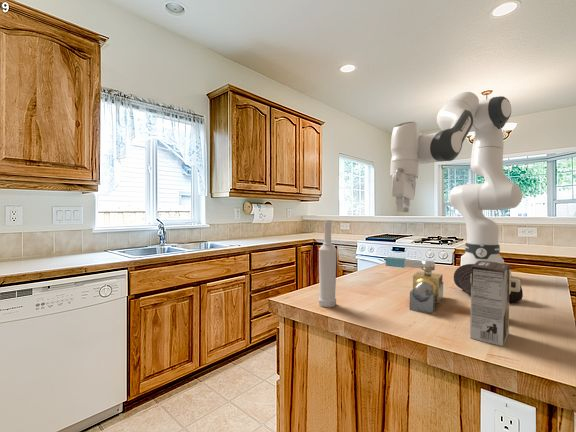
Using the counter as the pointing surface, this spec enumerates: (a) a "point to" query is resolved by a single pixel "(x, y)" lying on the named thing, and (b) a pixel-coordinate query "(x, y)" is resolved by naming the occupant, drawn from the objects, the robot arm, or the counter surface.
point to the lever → (410, 263)
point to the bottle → (327, 269)
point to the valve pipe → (426, 291)
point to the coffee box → (490, 302)
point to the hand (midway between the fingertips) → (403, 212)
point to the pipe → (464, 282)
